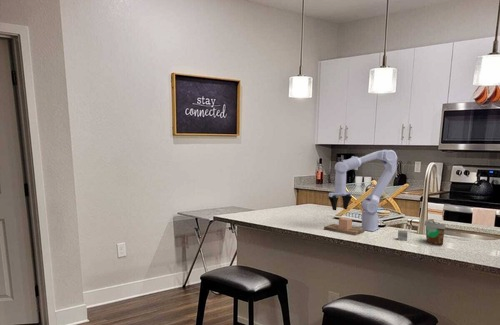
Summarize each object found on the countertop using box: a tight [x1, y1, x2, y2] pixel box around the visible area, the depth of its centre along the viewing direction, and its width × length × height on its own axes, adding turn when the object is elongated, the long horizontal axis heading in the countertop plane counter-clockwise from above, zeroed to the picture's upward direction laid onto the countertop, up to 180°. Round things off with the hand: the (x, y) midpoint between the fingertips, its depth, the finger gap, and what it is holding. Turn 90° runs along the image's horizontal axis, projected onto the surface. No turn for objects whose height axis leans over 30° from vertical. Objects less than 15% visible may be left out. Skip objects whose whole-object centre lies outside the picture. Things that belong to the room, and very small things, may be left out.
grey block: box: [397, 229, 408, 242], centre depth 183 cm, size 4×4×4 cm
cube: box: [337, 217, 353, 230], centre depth 198 cm, size 5×5×5 cm
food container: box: [423, 218, 446, 246], centre depth 178 cm, size 12×6×10 cm, turn 178°
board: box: [323, 223, 365, 236], centre depth 199 cm, size 10×18×2 cm, turn 49°
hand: (339, 209), depth 203 cm, fingers open, 7 cm apart
